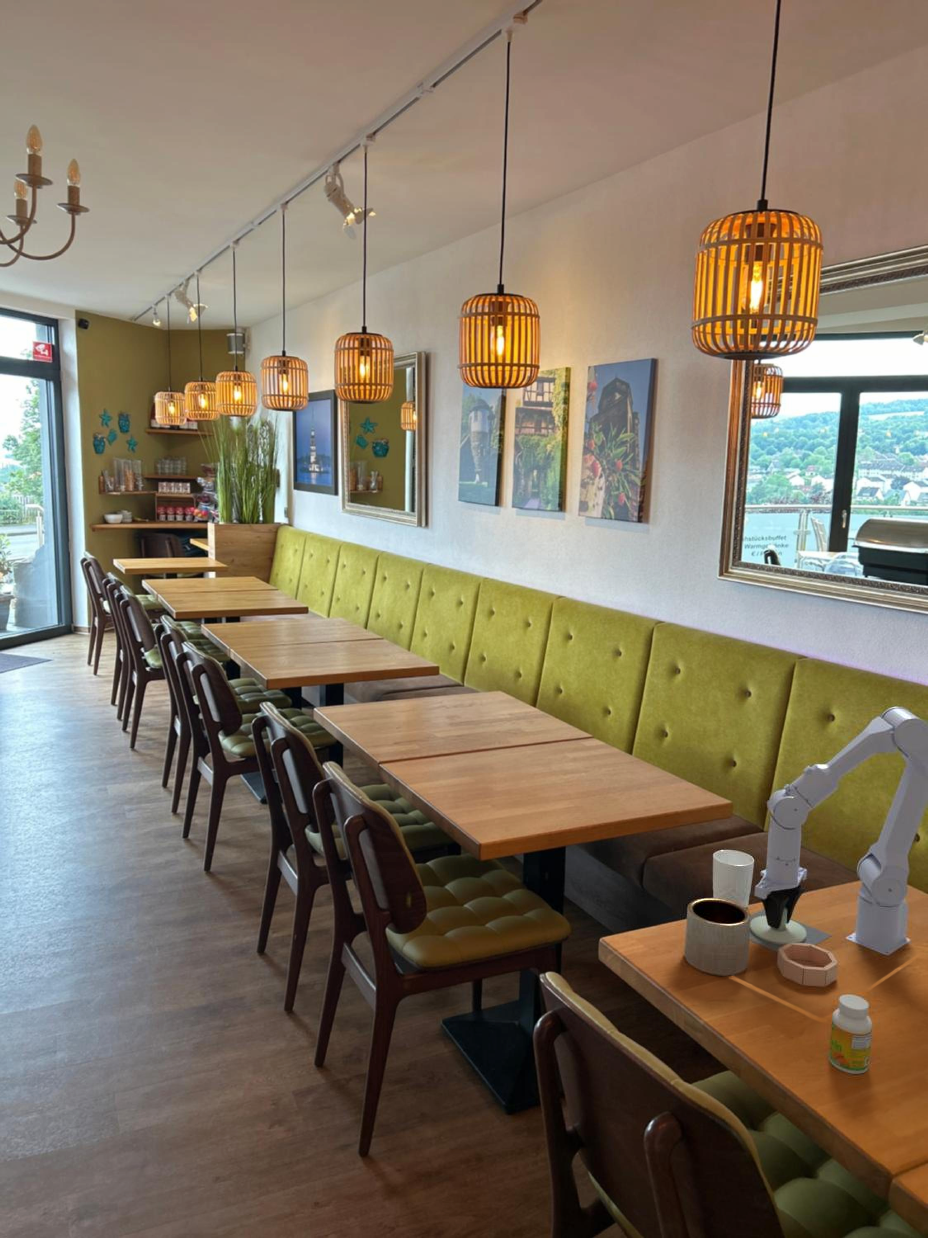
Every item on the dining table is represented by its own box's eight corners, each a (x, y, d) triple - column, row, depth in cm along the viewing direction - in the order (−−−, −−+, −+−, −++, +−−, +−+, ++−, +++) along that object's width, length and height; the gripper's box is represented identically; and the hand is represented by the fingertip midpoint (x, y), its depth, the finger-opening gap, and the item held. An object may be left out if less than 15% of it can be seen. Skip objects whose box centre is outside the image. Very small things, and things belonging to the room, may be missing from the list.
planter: (724, 943, 167) (727, 894, 166) (760, 973, 157) (764, 921, 155) (672, 951, 164) (675, 901, 162) (706, 982, 153) (709, 929, 152)
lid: (768, 915, 177) (769, 891, 177) (816, 934, 170) (818, 910, 169) (739, 930, 171) (741, 906, 170) (787, 951, 163) (789, 925, 163)
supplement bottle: (821, 1053, 134) (826, 992, 133) (856, 1052, 135) (861, 991, 134) (839, 1076, 129) (845, 1013, 128) (875, 1075, 130) (881, 1012, 128)
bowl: (796, 956, 163) (797, 938, 162) (844, 977, 156) (845, 958, 155) (768, 972, 157) (769, 953, 156) (816, 995, 150) (818, 975, 150)
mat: (765, 911, 180) (765, 908, 180) (831, 938, 170) (831, 935, 169) (723, 931, 171) (724, 928, 171) (791, 962, 161) (791, 958, 161)
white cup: (752, 915, 178) (756, 867, 177) (711, 911, 180) (714, 863, 178) (748, 898, 186) (751, 852, 185) (709, 894, 188) (712, 848, 186)
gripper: (785, 839, 176) (780, 905, 178) (742, 857, 167) (737, 927, 169) (819, 851, 171) (813, 919, 172) (776, 870, 161) (771, 942, 163)
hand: (778, 924), depth 170 cm, fingers closed on lid, 3 cm apart
